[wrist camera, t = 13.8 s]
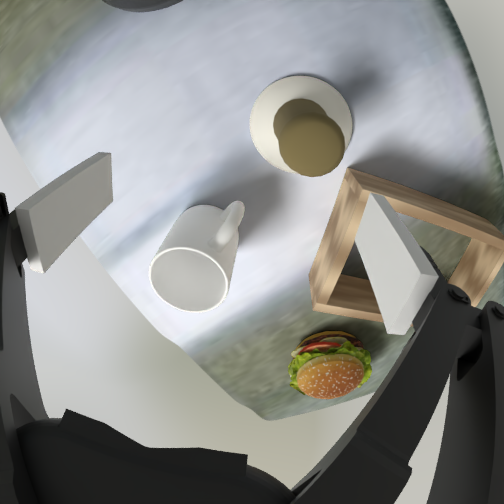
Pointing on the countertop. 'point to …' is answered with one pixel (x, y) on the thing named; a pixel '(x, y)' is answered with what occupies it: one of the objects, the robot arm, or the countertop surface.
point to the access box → (409, 203)
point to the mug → (198, 258)
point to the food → (329, 365)
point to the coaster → (283, 93)
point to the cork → (308, 138)
